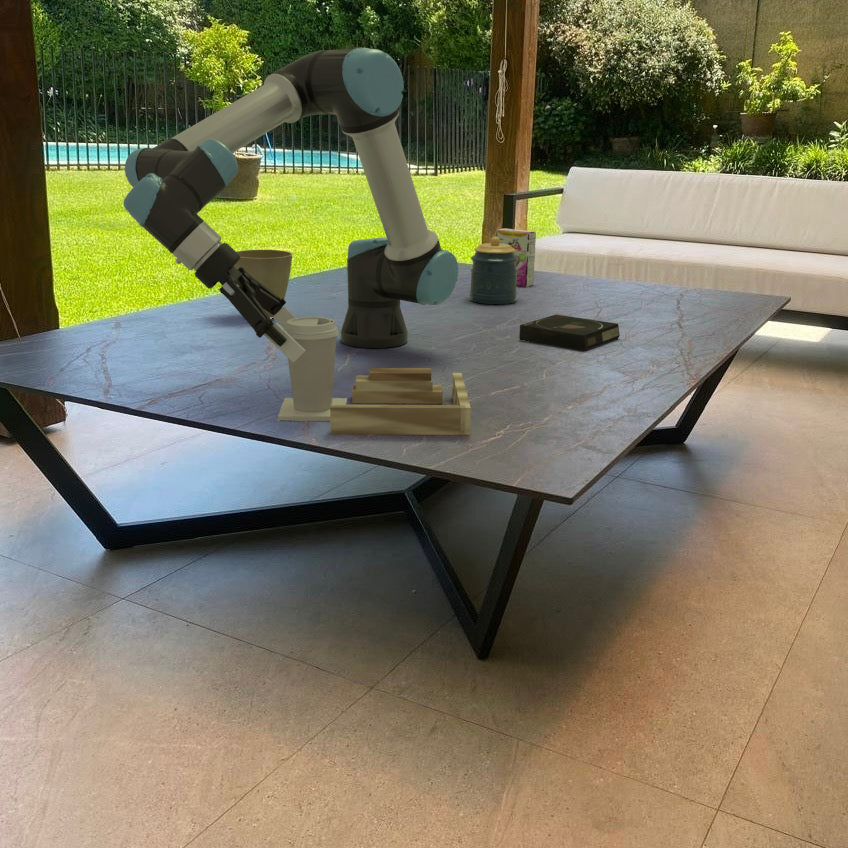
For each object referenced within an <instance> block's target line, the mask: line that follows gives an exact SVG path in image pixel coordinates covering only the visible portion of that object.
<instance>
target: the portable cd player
mask: <svg viewBox="0 0 848 848" xmlns="http://www.w3.org/2000/svg"><path fill="white" fill-rule="evenodd" d="M620 336H621V335H620V327H619V323H616V322H609V321H603V320H597V319H590V318H589V319H588V318H581V317H577V316H570V315H562V314H558V313H557V314H553V315H549V316H546V317H543V318H540V319H537V320H533V321H529V322H526V323H522V324H520V325H519V336H518V337H519V339H520V340H525V341H524V342H526V341H529V342H528V343H532V342H533V344H540V345H544V346H545V345H546V346H550V347H557V348H562V349H567V350H568V349H569V350H572V351H573V350H575V351H581V352H585V351H588V350H591V349H594V348H596V347H600V346H602V345H604V344H608V343H611V342H613V341H615V340H618V339H619V338H620ZM520 340H519V341H520Z"/></svg>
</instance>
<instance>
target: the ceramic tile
mask: <svg viewBox="0 0 848 848" xmlns="http://www.w3.org/2000/svg"><path fill="white" fill-rule="evenodd" d="M332 405H348V398H347V397H332ZM278 420H292V421H291V422H330V409H328V410H326V411H321V412H302V411H298V410H296V409H295V408H294V404H293V397H284V400H283V402H282V404H281V407H280V410H279V413H278V415H277V421H278ZM294 420H295V421H294Z"/></svg>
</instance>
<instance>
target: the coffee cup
mask: <svg viewBox="0 0 848 848" xmlns="http://www.w3.org/2000/svg"><path fill="white" fill-rule="evenodd" d="M283 329H284V330H285V331H286V332H287V333H288V334H289V335H290V336H291V337H292V338H293V339H294V340H295V341H296V342H297V343H298V344H299V345H300V346H301V347H303V348H304V349H305V352H304V353H303V354H302V355H301V356H300V357H299V358H298V359H297V360H296V361H295V362H294V363H293V362H292V361H291V360H290V359H289V358H288V357H287V361H288V362H287V364H288V368H289V369H288V370H289V376H290V385H291V393H292V398H293V404H294V408H295V409H296V410H298V411H302V412H321V411H326V410H328V409H330V406H331V405H332V398H333V394H334V391H333V390H334V376H335V363H336V362H335V361H336V347H337V336H339V335H340V331H339V328H338V326H337V325H336V324H335V320H334V319H332V318H330V317H324V316H300V317H296V318H293V319H290V320H288V321H287V323H286V326H285V327H284V328H283Z"/></svg>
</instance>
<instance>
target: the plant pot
mask: <svg viewBox="0 0 848 848" xmlns="http://www.w3.org/2000/svg"><path fill="white" fill-rule="evenodd" d="M236 252H237V253H238V254H239V255H240V260H239V261H238V262H237V263H236V264H235V265H234V268H235V269H237V270H238V269H239V268H240V267H242V268H244V270H245V271H246V272H247V273H248V274H250V275H251V276H252V277H253V278H254V279H256V280H257V281H258V282H260V283H261V284H262V285H263V286H265V287H266V288H267V289H269V290H270V291H271V292H272V293H274V294H275V295H276V296H277V297H279V298H280V299H282V298H283V299H284V300H285V299H286V295H287V290H288V286H289V282H290V281H289V280H290V276H291V268H292V261H293V252H291V251H287V250H280V249H245V250H237V251H236ZM264 311H265V312H266V313H267V315H268V316H269V317H274V316H275V315H276V314H275V315H272V314H271V313H269V312H268V311H266V310H264Z"/></svg>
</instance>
